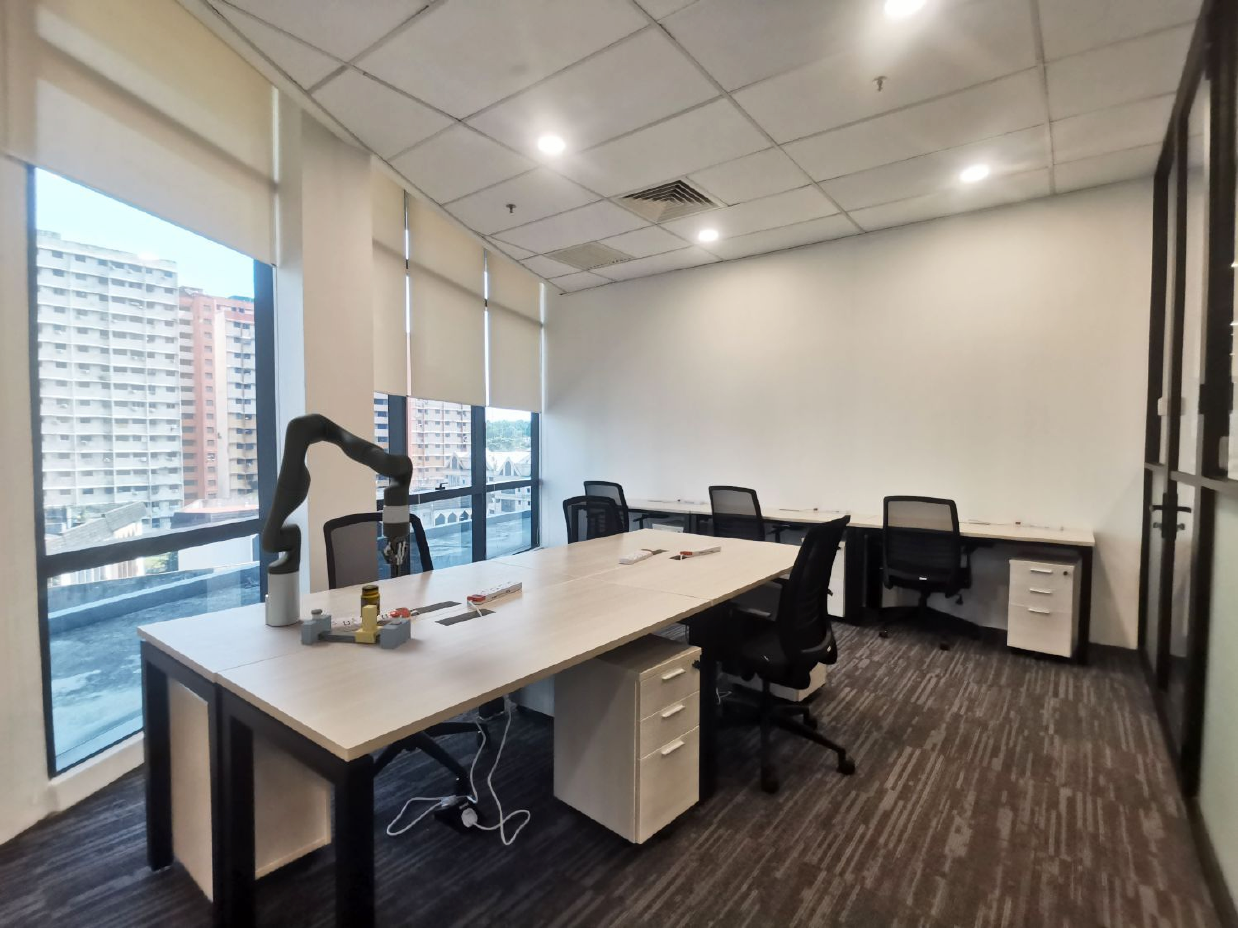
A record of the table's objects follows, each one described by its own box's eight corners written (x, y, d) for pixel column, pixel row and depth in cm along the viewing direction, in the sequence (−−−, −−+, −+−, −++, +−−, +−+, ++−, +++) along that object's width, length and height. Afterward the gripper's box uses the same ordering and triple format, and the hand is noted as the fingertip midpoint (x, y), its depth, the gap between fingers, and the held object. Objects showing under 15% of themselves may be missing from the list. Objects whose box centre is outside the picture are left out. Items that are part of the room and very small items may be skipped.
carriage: (354, 642, 169) (354, 608, 169) (366, 635, 175) (365, 603, 175) (373, 643, 168) (373, 609, 168) (384, 636, 174) (383, 604, 174)
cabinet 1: (301, 643, 169) (301, 615, 169) (322, 632, 179) (322, 605, 179) (310, 644, 169) (310, 615, 168) (331, 633, 179) (331, 606, 178)
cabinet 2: (380, 648, 166) (380, 628, 166) (397, 636, 176) (397, 617, 176) (394, 648, 166) (394, 628, 165) (410, 637, 176) (410, 618, 175)
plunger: (388, 632, 169) (388, 613, 169) (393, 629, 172) (393, 610, 172) (398, 633, 169) (398, 614, 169) (403, 629, 172) (403, 611, 172)
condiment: (384, 621, 191) (384, 586, 191) (358, 626, 185) (358, 591, 185) (376, 616, 197) (376, 582, 196) (350, 621, 191) (350, 586, 190)
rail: (318, 640, 172) (318, 633, 172) (324, 637, 175) (324, 630, 175) (386, 644, 170) (386, 637, 170) (391, 640, 173) (391, 634, 172)
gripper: (396, 523, 163) (396, 582, 163) (418, 517, 176) (418, 572, 176) (372, 522, 163) (372, 581, 164) (395, 516, 177) (395, 571, 177)
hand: (396, 576), depth 170 cm, fingers closed
